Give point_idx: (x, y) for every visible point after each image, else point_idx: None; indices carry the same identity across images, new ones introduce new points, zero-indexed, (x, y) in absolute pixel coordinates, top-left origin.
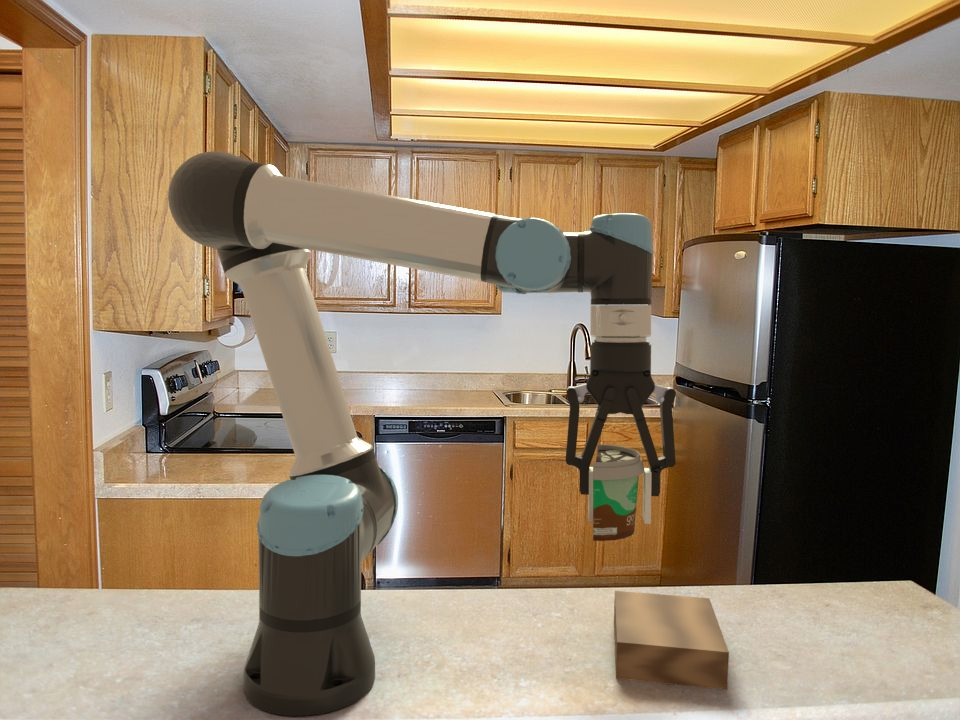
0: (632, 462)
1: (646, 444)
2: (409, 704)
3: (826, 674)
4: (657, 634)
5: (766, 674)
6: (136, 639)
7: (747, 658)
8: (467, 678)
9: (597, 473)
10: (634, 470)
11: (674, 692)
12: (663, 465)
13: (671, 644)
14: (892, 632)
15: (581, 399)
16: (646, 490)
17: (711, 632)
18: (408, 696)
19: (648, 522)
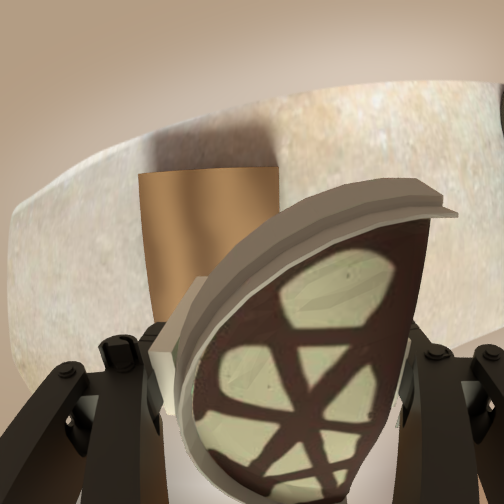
0: (211, 323)
1: (123, 446)
2: (469, 92)
3: (71, 232)
4: (222, 202)
5: (117, 217)
6: None
7: (131, 249)
8: (436, 141)
9: (409, 186)
10: (207, 291)
11: (212, 150)
12: (99, 379)
13: (204, 176)
14: (33, 322)
15: None
16: (185, 316)
17: (153, 225)
18: (473, 105)
19: (201, 277)
